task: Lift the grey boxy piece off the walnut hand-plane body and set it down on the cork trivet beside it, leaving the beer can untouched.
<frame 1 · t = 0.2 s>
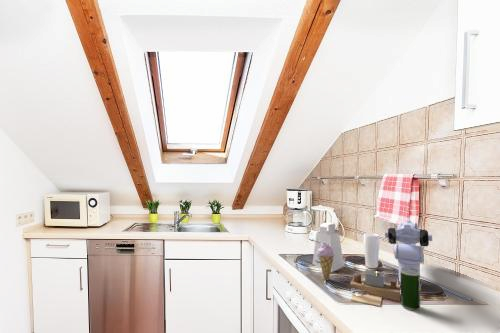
hand: (407, 240, 91), 21 cm above the worktop, tool horizontal, fingers open, 7 cm apart
grater: (328, 266, 129), on the worktop
grey boxy piece: (374, 284, 100), point 3 cm above the worktop, touching plane body
beer can: (410, 307, 89), on the worktop
cork trivet: (366, 299, 95), on the worktop
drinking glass: (371, 267, 128), on the worktop
ice cream cone: (325, 279, 113), on the worktop
plane body: (375, 292, 100), on the worktop
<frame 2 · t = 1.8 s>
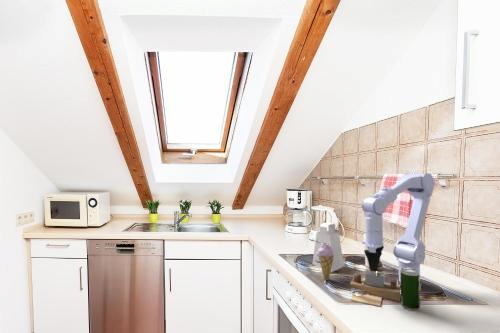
hand: (374, 267, 100), 9 cm above the worktop, tool pointing down, fingers open, 7 cm apart
nothing on the worktop moved.
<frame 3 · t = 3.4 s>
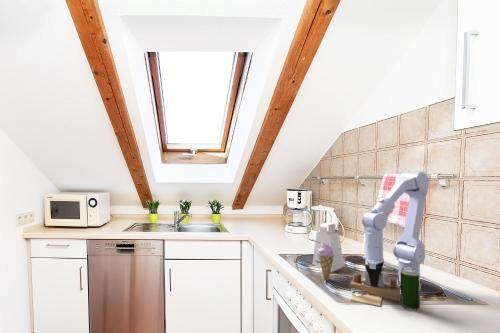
hand: (374, 283, 100), 3 cm above the worktop, tool pointing down, fingers closed on grey boxy piece, 4 cm apart
grey boxy piece: (374, 284, 100), point 3 cm above the worktop, touching gripper, plane body
everything else where it was.
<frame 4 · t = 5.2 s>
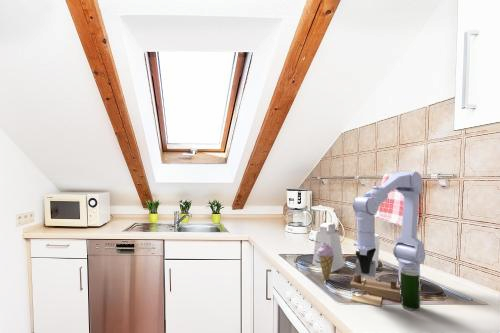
hand: (366, 271, 95), 10 cm above the worktop, tool pointing down, fingers closed on grey boxy piece, 4 cm apart
grey boxy piece: (365, 273, 95), point 9 cm above the worktop, touching gripper
everything else where it was.
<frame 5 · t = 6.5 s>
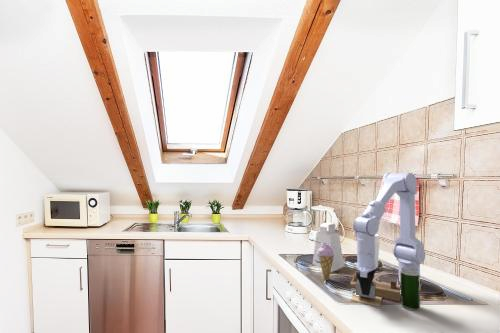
hand: (366, 291, 95), 3 cm above the worktop, tool pointing down, fingers closed on grey boxy piece, 4 cm apart
grey boxy piece: (366, 294, 95), point 2 cm above the worktop, touching gripper
everything else where it was.
when the fingers open (3 cm above the worktop, at t = 7.2 s): grey boxy piece drops 1 cm, resting on cork trivet.
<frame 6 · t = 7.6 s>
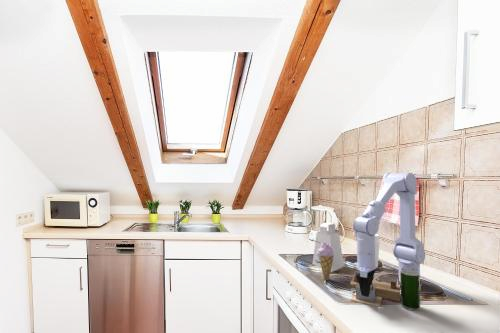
hand: (366, 291, 95), 3 cm above the worktop, tool pointing down, fingers open, 7 cm apart
grey boxy piece: (366, 298, 95), resting on cork trivet
everything else where it was.
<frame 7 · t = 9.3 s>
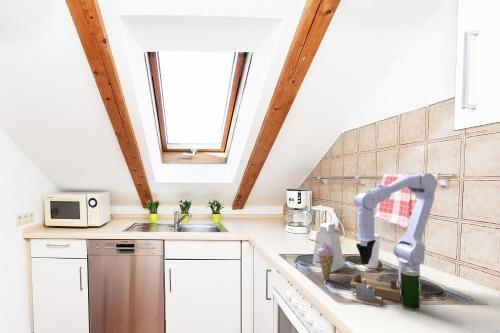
hand: (366, 261, 104), 10 cm above the worktop, tool pointing down, fingers open, 7 cm apart
nothing on the worktop moved.
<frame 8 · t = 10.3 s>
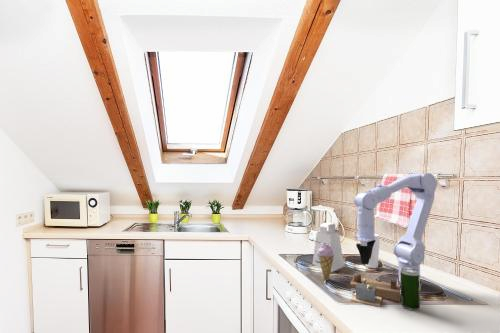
hand: (366, 261, 104), 10 cm above the worktop, tool pointing down, fingers open, 7 cm apart
nothing on the worktop moved.
at the end: grey boxy piece inside the target area on the cork trivet (0.1 cm from its centre), point 0.4 cm above the cork trivet's base; grey boxy piece touching cork trivet; the gripper is holding nothing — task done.
